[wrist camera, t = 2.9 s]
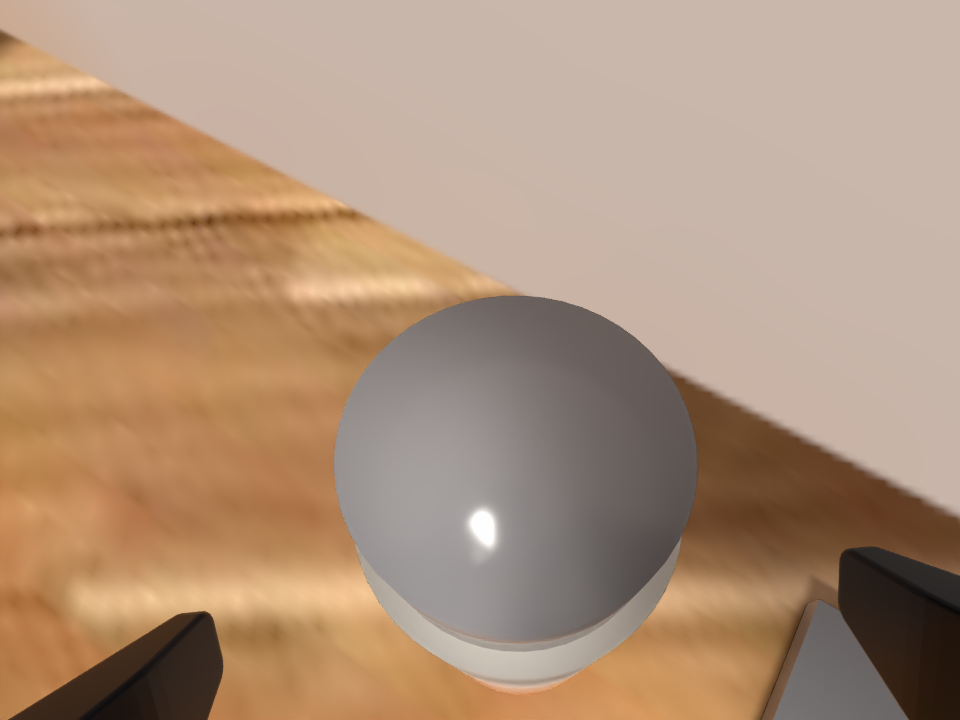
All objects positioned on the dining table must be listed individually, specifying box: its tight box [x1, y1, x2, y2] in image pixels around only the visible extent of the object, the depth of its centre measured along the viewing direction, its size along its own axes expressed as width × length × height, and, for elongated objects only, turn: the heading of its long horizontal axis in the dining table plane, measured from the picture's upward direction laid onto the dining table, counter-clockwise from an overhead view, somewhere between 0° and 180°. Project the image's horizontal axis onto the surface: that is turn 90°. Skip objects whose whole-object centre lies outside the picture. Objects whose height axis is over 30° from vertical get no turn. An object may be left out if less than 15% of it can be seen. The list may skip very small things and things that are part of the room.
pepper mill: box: [334, 296, 698, 695], centre depth 12 cm, size 5×5×12 cm
